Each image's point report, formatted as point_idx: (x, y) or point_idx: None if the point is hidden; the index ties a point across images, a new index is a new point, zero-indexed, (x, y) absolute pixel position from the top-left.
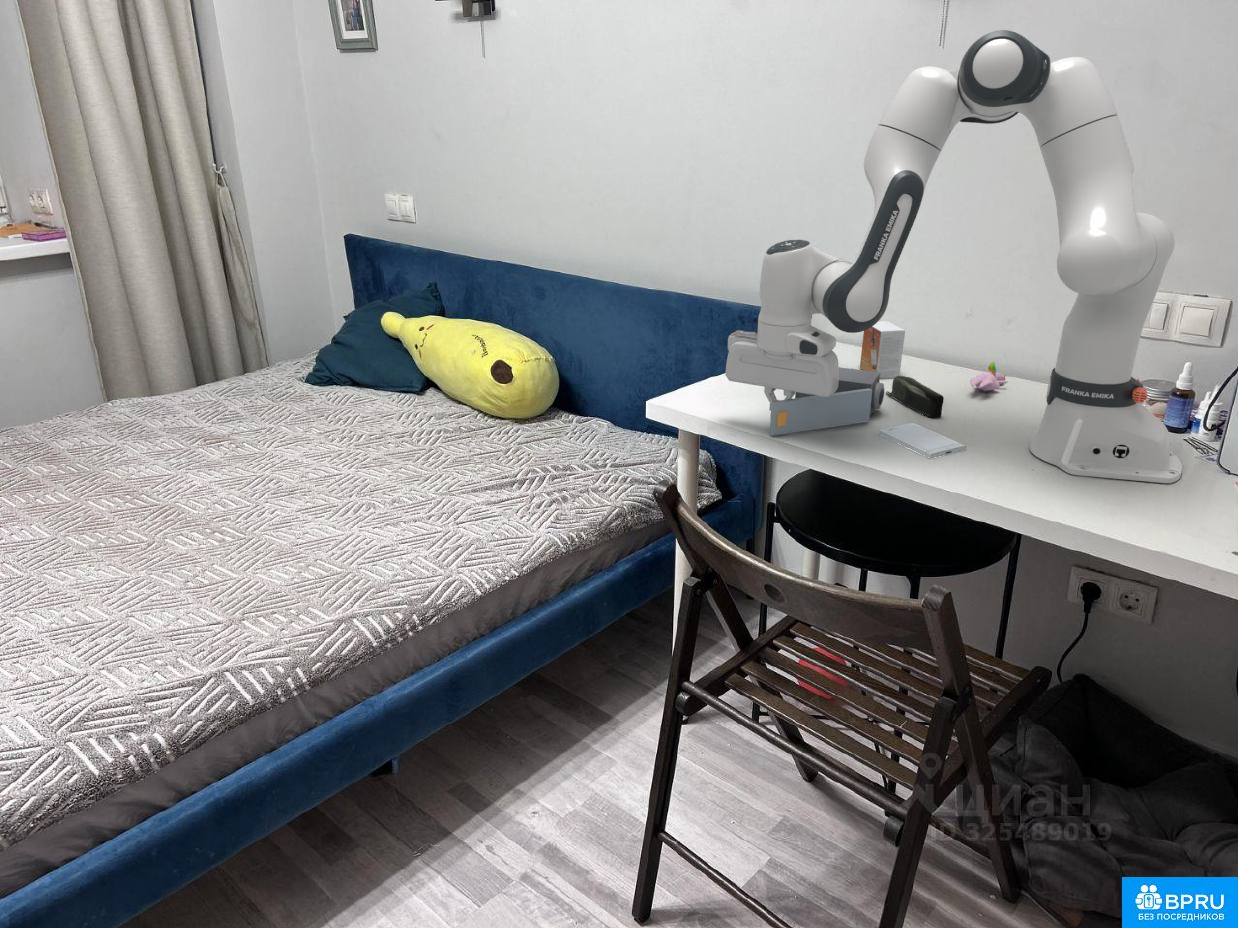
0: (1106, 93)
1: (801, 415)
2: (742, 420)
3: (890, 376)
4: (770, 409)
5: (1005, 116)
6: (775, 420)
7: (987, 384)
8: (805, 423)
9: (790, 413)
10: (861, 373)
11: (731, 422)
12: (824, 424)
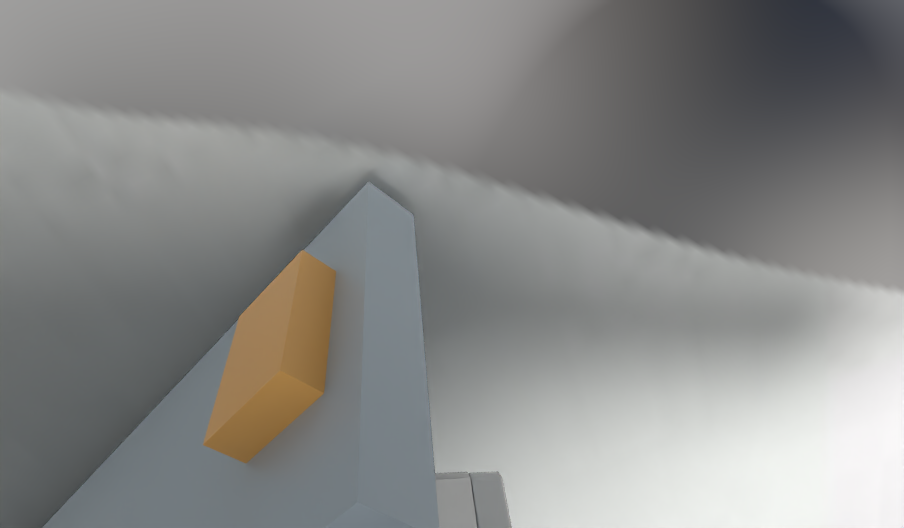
0: None
1: (143, 506)
2: (713, 386)
3: None
4: (490, 481)
5: None
6: (343, 302)
7: None
8: (143, 451)
9: (208, 471)
10: None
11: (796, 324)
12: (63, 517)
